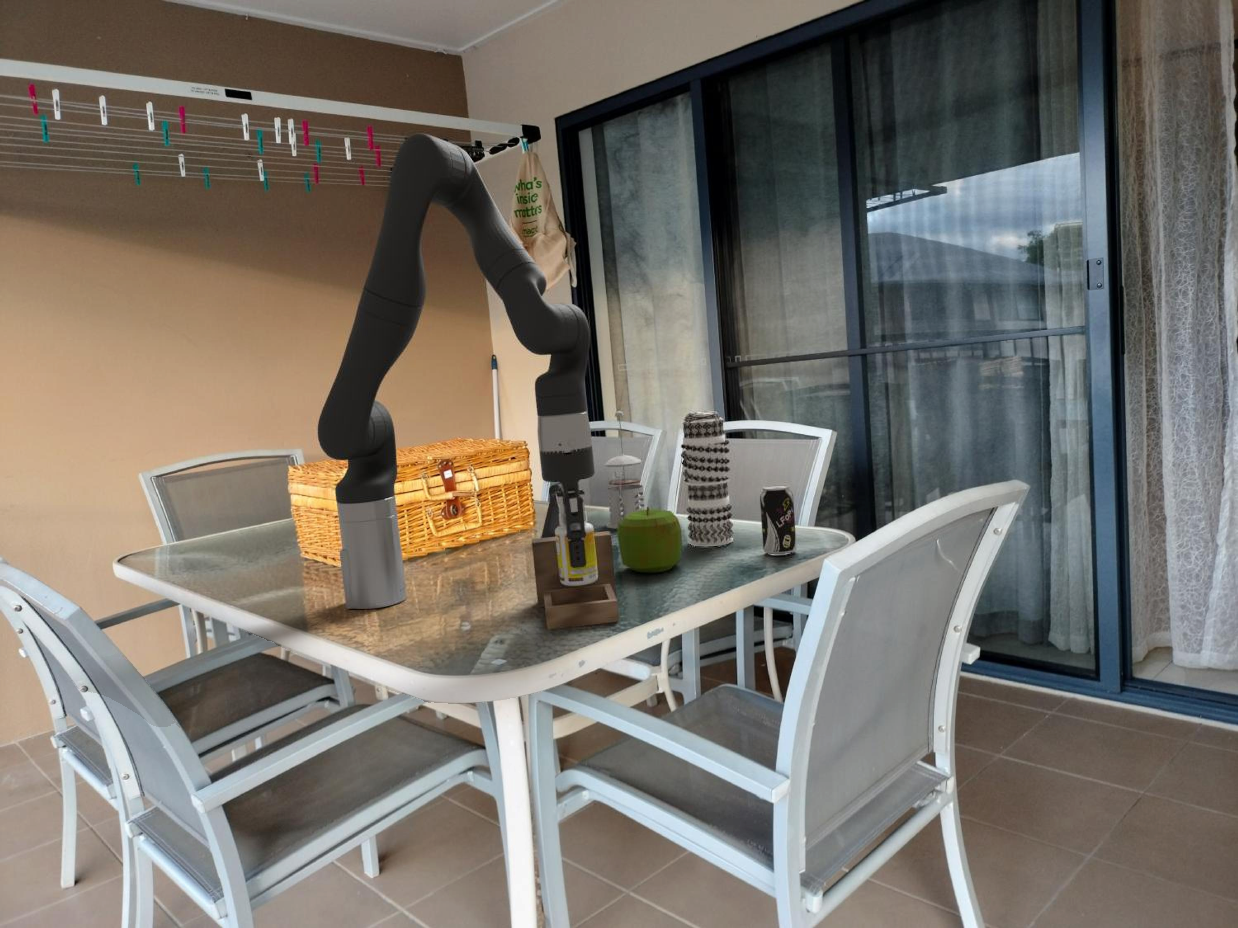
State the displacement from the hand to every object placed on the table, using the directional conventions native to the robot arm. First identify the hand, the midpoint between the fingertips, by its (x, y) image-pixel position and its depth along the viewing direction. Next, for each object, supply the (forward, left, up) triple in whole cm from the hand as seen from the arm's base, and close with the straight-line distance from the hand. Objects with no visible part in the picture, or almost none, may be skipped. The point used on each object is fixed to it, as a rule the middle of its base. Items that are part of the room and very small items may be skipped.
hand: (577, 561), depth 129 cm
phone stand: (+1, +57, -8) cm, 58 cm away
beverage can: (+37, +24, -8) cm, 45 cm away
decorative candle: (+28, +39, -8) cm, 49 cm away
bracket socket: (0, +2, -8) cm, 8 cm away
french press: (+15, +66, -8) cm, 69 cm away
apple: (+14, +23, -8) cm, 28 cm away
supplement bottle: (0, 0, -3) cm, 3 cm away
